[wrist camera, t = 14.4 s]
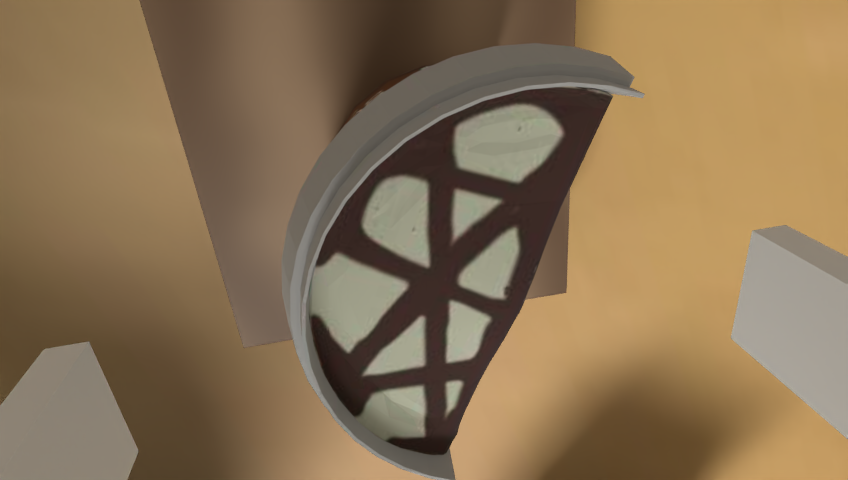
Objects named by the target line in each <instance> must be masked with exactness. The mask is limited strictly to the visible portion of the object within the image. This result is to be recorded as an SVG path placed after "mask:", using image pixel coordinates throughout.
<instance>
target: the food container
mask: <svg viewBox="0 0 848 480" xmlns="http://www.w3.org/2000/svg"><path fill="white" fill-rule="evenodd" d="M633 79H634V76H633V75H631V74H630V73H629V72H628V71H627V70H625V69H624V68H623V67H622V66H621V65H620V64H618V63H617V62H616V61H615V60H614V59H613V58H611V57H610V56H607V55H603V54H599V53H596V52H592V51H589V50H585V49H581V48H578V47H572V46H561V45H551V44H540V43H530V44H517V45H504V46H493V47H489V48H485V49H481V50H477V51H473V52H469V53H465V54H461V55H457V56H453V57H451V58H448V59H446V60H444V61H441V62H439V63H437V64H434V65H425V66H421V67H419V68H416V69H414V70H411V71H408V72H406V73H403V74H401V75H398V76H396V77H393V78H391V79H388V80H386V81H384V82H383V83H382V84H381V85H380V86H378V87H377V88H376V89H375V90H374V91H372V92H371V93H370V94H369V95H368V96H366V97H365V98H364V99H363V100H362V101H360V102H359V103H358V104H357V105H356V106H355V107H354V108H353V110H352V112H351V113H350V115H349V116H348V118H347V119H346V121H345V122H344V124H343V126H342V127H341V129H340V130H339V132H338V134H337V135H336V137H335V138H334V139H333V140H332V141H331V143H330V144H329V145H328V146H327V148H326V149H325V150H324V151H323V152H322V154H321V155H320V156H319V158H318V160H317V161H316V163H315V165H314V167H313V168H312V170H311V172H310V174H309V175H308V177H307V179H306V181H305V182H304V184H303V186H302V188H301V189H300V192H299V194H298V197H297V200H296V203H295V205H294V208H293V211H292V214H291V217H290V219H289V222H288V225H287V230H286V236H285V242H284V248H283V254H282V295H283V300H284V305H285V309H286V314H287V319H288V324H289V327H290V331H291V335H292V338H293V342H294V345H295V349H296V353H297V355H298V357H299V360H300V362H301V365H302V367H303V370H304V372H305V375H306V377H307V380H308V382H309V383H310V385H311V386H312V388H313V389H314V391H315V392H316V394H317V395H318V397H319V398H320V400H321V401H322V403H323V405H324V406H325V407H326V408H327V409H328V410H329V412H330V414H331V415H332V417H333V418H334V420H335V421H336V422H337V423H338V424H339V425H340V426H341V427H342V428H343V429H344V430H345V431H346V432H347V433H348V434H349V435H350V436H351V437H352V438H353V439H354V440H355V441H356V442H357V443H359V444H360V445H361V446H363V447H364V448H366V449H367V450H368V451H370V452H371V453H372V454H374V455H375V456H377V457H378V458H380V459H382V460H384V461H386V462H388V463H390V464H392V465H394V466H396V467H398V468H400V469H402V470H406V471H409V472H412V473H415V474H418V475H421V476H424V477H427V478H431V479H437V480H455V475H454V469H453V464H452V459H451V454H450V449H449V447H450V445H451V443H452V441H453V439H454V438H455V436H456V435H457V432H458V428H459V425H460V422H461V420H462V417H463V415H464V412H465V410H466V408H467V406H468V404H469V402H470V399H471V397H472V395H473V393H474V391H475V389H476V387H477V385H478V383H479V381H480V379H481V377H482V375H483V374H484V372H485V370H486V368H487V366H488V365H489V363H490V361H491V360H492V358H493V356H494V355H495V353H496V351H497V350H498V348H499V346H500V345H501V343H502V342H503V340H504V338H505V337H506V335H507V333H508V331H509V329H510V328H511V326H512V324H513V322H514V320H515V319H516V317H517V315H518V314H519V312H520V310H521V308H522V306H523V303H524V301H525V298H526V296H527V293H528V291H529V288H530V286H531V284H532V281H533V279H534V276H535V273H536V271H537V268H538V265H539V262H540V260H541V257H542V254H543V251H544V249H545V246H546V243H547V241H548V238H549V236H550V233H551V231H552V228H553V226H554V223H555V221H556V218H557V216H558V213H559V211H560V208H561V206H562V204H563V202H564V200H565V197H566V195H567V193H568V191H569V189H570V187H571V185H572V182H573V180H574V178H575V176H576V174H577V172H578V169H579V167H580V165H581V163H582V161H583V159H584V157H585V154H586V152H587V150H588V148H589V146H590V144H591V142H592V139H593V137H594V135H595V133H596V131H597V129H598V127H599V125H600V123H601V120H602V118H603V116H604V114H605V112H606V110H607V108H608V106H609V104H610V101H611V99H612V97H613V96H612V95H611V94H618V95H625V96H632V97H639V98H643V97H644V94H643V93H641V92H639V91H637V90H635V89H632V88H630V85H631V83H632V81H633ZM609 93H611V94H609Z"/></svg>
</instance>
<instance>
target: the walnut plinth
mask: <svg viewBox="0 0 848 480" xmlns="http://www.w3.org/2000/svg"><path fill="white" fill-rule="evenodd" d="M140 3H141V7H142V10H143V13H144V17H145V20H146V23H147V27H148V30H149V33H150V37H151V40H152V43H153V47H154V50H155V53H156V57H157V60H158V63H159V67H160V70H161V73H162V77H163V80H164V83H165V87H166V90H167V93H168V97H169V100H170V103H171V107H172V110H173V113H174V117H175V120H176V123H177V127H178V130H179V133H180V137H181V140H182V143H183V147H184V150H185V153H186V157H187V160H188V163H189V167H190V170H191V173H192V177H193V180H194V183H195V187H196V190H197V194H198V197H199V200H200V204H201V207H202V210H203V214H204V217H205V220H206V224H207V227H208V230H209V234H210V237H211V240H212V244H213V247H214V250H215V254H216V257H217V260H218V264H219V267H220V270H221V274H222V277H223V280H224V284H225V287H226V290H227V294H228V297H229V300H230V304H231V307H232V310H233V314H234V317H235V320H236V324H237V327H238V330H239V334H240V337H241V340H242V344H243V347H244V348H246V347H251V346H257V345H263V344H269V343H275V342H281V341H286V340H292V339H293V338H292V335H291V331H290V327H289V324H288V319H287V314H286V309H285V305H284V300H283V295H282V254H283V248H284V242H285V236H286V230H287V225H288V222H289V219H290V217H291V214H292V211H293V208H294V205H295V203H296V200H297V197H298V194H299V192H300V189H301V188H302V186H303V184H304V182H305V181H306V179H307V177H308V175H309V174H310V172H311V170H312V168H313V167H314V165H315V163H316V161H317V160H318V158H319V156H320V155H321V154H322V152H323V151H324V150H325V149H326V148H327V146H328V145H329V144H330V143H331V141H332V140H333V139H334V138H335V137H336V135H337V134H338V132H339V130H340V129H341V127H342V126H343V124H344V122H345V121H346V119H347V118H348V116H349V115H350V113H351V112H352V110H353V108H354V107H355V106H356V105H357V104H358V103H359V102H360V101H362V100H363V99H364V98H365V97H366V96H368V95H369V94H370V93H371V92H372V91H374V90H375V89H376V88H377V87H378V86H380V85H381V84H382V83H383V82H384V81H386V80H388V79H391V78H393V77H396V76H398V75H401V74H403V73H406V72H408V71H411V70H414V69H416V68H419V67H421V66H425V65H434V64H437V63H439V62H441V61H444V60H446V59H448V58H451V57H453V56H457V55H461V54H465V53H469V52H473V51H477V50H481V49H485V48H489V47H493V46H504V45H517V44H530V43H540V44H551V45H561V46H572V47H574V46H575V16H576V0H140ZM569 197H570V189H569V191H568V193H567V195H566V197H565V200H564V202H563V204H562V206H561V208H560V211H559V213H558V216H557V218H556V221H555V223H554V226H553V228H552V231H551V233H550V236H549V238H548V241H547V243H546V246H545V249H544V251H543V254H542V257H541V260H540V262H539V265H538V268H537V271H536V273H535V276H534V279H533V281H532V284H531V286H530V288H529V291H528V293H527V296H526V298H525V300H526V299H532V298H538V297H544V296H550V295H555V294H561V293H566V288H567V258H568V228H569Z"/></svg>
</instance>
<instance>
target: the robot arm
mask: <svg viewBox="0 0 848 480" xmlns="http://www.w3.org/2000/svg"><path fill="white" fill-rule="evenodd" d="M731 339H732V340H733V341H735V342H736V343H737V344H738V345H739V346H740V347H742V348H743V349H744V350H745V351H746V352H747V353H748V354H750V355H751V356H752V357H753V358H754V359H755V360H757V361H758V362H759V363H760V364H761V365H762V366H764V367H765V368H766V369H767V370H768V371H769V372H770V373H772V374H773V375H774V376H775V377H776V378H777V379H779V380H780V381H781V382H782V383H783V384H784V385H786V386H787V387H788V388H789V389H790V390H791V391H793V392H794V393H795V394H796V395H797V396H798V397H799V398H801V399H802V400H803V401H804V402H805V403H806V404H808V405H809V406H810V407H811V408H812V409H813V410H815V411H816V412H817V413H818V414H819V415H820V416H821V417H823V418H824V419H825V420H826V421H827V422H828V423H830V424H831V425H832V426H833V427H834V428H835V429H837V430H838V431H839V432H840V433H841V434H842V435H843V436H845V437H846V438H847V439H848V257H847V256H845V255H843V254H841V253H839V252H837V251H835V250H833V249H831V248H829V247H827V246H825V245H823V244H822V243H820V242H818V241H816V240H814V239H812V238H810V237H808V236H806V235H804V234H802V233H800V232H798V231H796V230H794V229H792V228H790V227H789V226H787V225H783V226H777V227H771V228H765V229H759V230H753V231H752V235H751V240H750V245H749V250H748V255H747V260H746V265H745V270H744V275H743V280H742V285H741V290H740V295H739V300H738V305H737V310H736V315H735V320H734V325H733V330H732V335H731ZM138 452H139V450H138V448H137V446H136V444H135V442H134V439H133V437H132V435H131V433H130V431H129V428H128V426H127V424H126V422H125V420H124V417H123V415H122V413H121V411H120V409H119V406H118V404H117V402H116V400H115V398H114V395H113V393H112V391H111V389H110V387H109V384H108V382H107V380H106V378H105V376H104V373H103V371H102V369H101V367H100V365H99V362H98V360H97V358H96V356H95V354H94V351H93V349H92V347H91V345H90V343H89V342H83V343H77V344H71V345H65V346H59V347H53V348H47V349H44V350H43V351H42V352H41V354H40V355H39V356H38V357H37V359H36V360H35V361H34V363H33V364H32V365H31V366H30V368H29V369H28V370H27V372H26V373H25V374H24V376H23V377H22V378H21V379H20V381H19V382H18V383H17V385H16V386H15V387H14V388H13V390H12V391H11V392H10V394H9V395H8V396H7V397H6V399H5V400H4V401H3V403H2V404H1V405H0V480H127V479H128V477H129V474H130V472H131V469H132V467H133V464H134V462H135V459H136V457H137V454H138Z"/></svg>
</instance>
